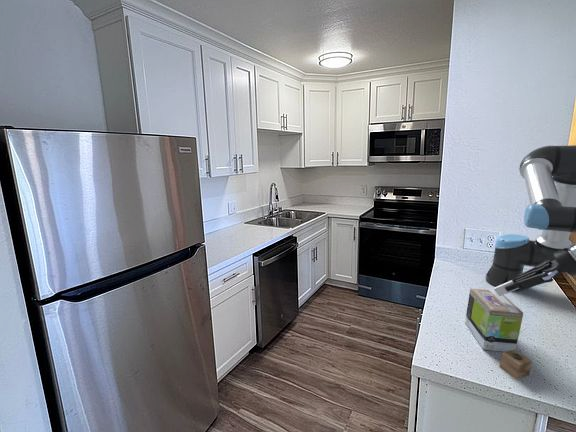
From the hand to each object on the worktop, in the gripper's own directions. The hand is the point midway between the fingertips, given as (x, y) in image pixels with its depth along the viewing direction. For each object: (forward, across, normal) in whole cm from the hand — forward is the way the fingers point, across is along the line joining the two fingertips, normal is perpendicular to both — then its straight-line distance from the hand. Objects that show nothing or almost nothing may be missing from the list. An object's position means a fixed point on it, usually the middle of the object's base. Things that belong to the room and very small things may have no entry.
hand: (496, 291), depth 98 cm
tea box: (+13, 0, -12) cm, 18 cm away
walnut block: (+6, -13, -18) cm, 23 cm away
